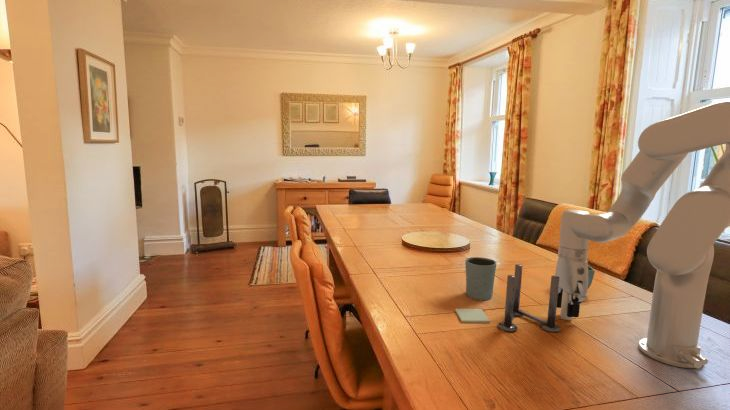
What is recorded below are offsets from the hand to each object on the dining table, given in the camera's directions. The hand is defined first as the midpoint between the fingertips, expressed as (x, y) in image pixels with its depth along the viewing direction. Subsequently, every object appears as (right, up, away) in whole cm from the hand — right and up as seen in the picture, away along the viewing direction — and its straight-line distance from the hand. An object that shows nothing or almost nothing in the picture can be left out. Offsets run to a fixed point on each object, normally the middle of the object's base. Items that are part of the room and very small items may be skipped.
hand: (566, 311), depth 114 cm
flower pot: (+15, +1, +23) cm, 28 cm away
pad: (-28, -2, 0) cm, 28 cm away
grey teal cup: (-21, +1, +17) cm, 27 cm away
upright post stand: (-14, -2, -2) cm, 14 cm away
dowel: (0, -2, 0) cm, 2 cm away
